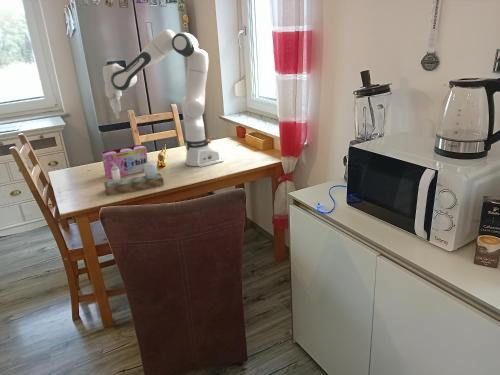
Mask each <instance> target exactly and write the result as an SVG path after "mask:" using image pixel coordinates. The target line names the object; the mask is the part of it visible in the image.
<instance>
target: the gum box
mask: <svg viewBox="0 0 500 375" xmlns="http://www.w3.org/2000/svg"><path fill="white" fill-rule="evenodd" d="M101 157H102V163H103V168H104V173H105V177H107V178H108V179H109V180H110V179H113V177H112V171H111V169H112V167H113V166H117V167H118V168H119V172H120V177H125V176H128V175H134V174H137V173H142V172H144V165H143V164H144V163H147V162H149V161H148V154H147V148H146V146H145V145H143V144H137V145H131V146H130V145H129V146H125V147H121V148H116V149H115V148H114V149H110V150H106V151H101Z"/></svg>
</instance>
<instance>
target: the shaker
mask: <svg viewBox="0 0 500 375" xmlns="http://www.w3.org/2000/svg"><path fill="white" fill-rule="evenodd" d="M111 171H112V177H113V178H112V181H113V183H114V184H119V183H121V180H122V178H121V176H120V172H119V168H118V167H117V166H113V167H112V169H111Z"/></svg>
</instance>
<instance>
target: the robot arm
mask: <svg viewBox="0 0 500 375" xmlns="http://www.w3.org/2000/svg"><path fill="white" fill-rule="evenodd" d="M199 46H200V44H199V40H198V39H197V37H195V36H194V35H193V34H191V33H187V32H177V33H175V32H174V31H173V30H171V29H168V28H167V29H163V30H162V31H160V32H159V33H157V34H156V35H155V36H154V37H153V38H151V40H150V41H149V42H148V43H147V44H146V45H145V46H144V47H143V49H142V50H141V51H140V53H139V54H138V55H137V56H136V57H135V58H134V59H133V60H132V61H131V62H130V63H128V64H127V65H126V66H125V67H123V66H121V65H119V64H118V63H117V62H113V63H108V64H105V65H104V66H103V67H102V76H103V82H104V91H105V96H106V97H108V101H109V104H110V107H111V108H112V112H113V115H114V116H115V118H116V119H120V118H121V117H120V112H121V111H122V107H121V100H120V99H121V97H123V93H122V91H125V90H127V89H128V88H131V87H133V86H135V85H136V83H137V81H138V76H137V75H138V74H139V73H140V72H141V71H142V70H143V69H145V68H147V67H149V66H151V65H154V64H157V63H159V62H160V61H162V60H163V59H165V58H166V57H167V56H168V55H169V54H170V53H171V52H172V51H175V52H176V53H178V54H179V55H181V56H183V57H184V58H187V68H186V75H185V76H186V78H185V93H184V94H185V95H184V96H183V97H182V99H181V110H182V111H181V113H182V120H183V126H184V132H185V141H184V142H185V144H184V145H185V150H186V154H185V161H184V162H185V163H184V164H186V165H187V166H191V167H192V166H193V167H198V168H202V167H206V166H207V167H208V166H210V165H215V164H219V163H223V162H224V158H223V156H221V155H220V154H219V151H218V149H217V148H215V147H214V146H213V145H211V143H212V140H210V139H209V138H206V135H205V132H206V131H205V123H204V119H203V114H205V110H206V109H205V106H206V85H207V80H208V79H207V78H208V71H209V70H208V69H209V55H208V52H206V51H205V50H203V49H200V48H199Z"/></svg>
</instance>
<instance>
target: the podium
mask: <svg viewBox="0 0 500 375" xmlns="http://www.w3.org/2000/svg"><path fill="white" fill-rule="evenodd" d="M161 185H163V186H165V182H164V177H163V176H162V175H161V173H158V177H157V178H154V179H146V178H145V175H140V176H135V177H128V178H124V179H123V178H121V183H119V184H114V183H113V180H111V181H105V182H104V188H105V189H104V190H105V193H106V196H112V195H119V194H123V193H130V192H134V191H135V192H136V191H139V190H145V189H146V188H147V189H151V187H152V188H157V187H156V186H158V187H162V186H161ZM147 189H146V190H147Z"/></svg>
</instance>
